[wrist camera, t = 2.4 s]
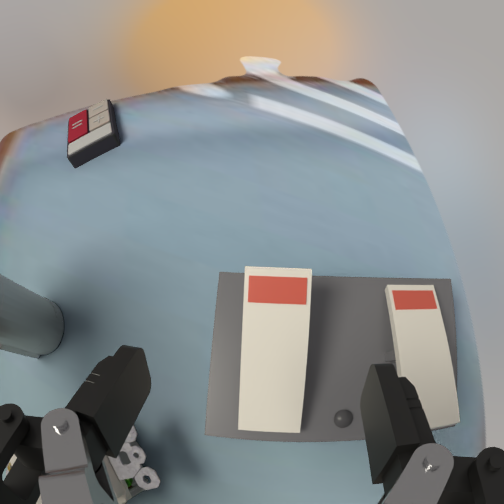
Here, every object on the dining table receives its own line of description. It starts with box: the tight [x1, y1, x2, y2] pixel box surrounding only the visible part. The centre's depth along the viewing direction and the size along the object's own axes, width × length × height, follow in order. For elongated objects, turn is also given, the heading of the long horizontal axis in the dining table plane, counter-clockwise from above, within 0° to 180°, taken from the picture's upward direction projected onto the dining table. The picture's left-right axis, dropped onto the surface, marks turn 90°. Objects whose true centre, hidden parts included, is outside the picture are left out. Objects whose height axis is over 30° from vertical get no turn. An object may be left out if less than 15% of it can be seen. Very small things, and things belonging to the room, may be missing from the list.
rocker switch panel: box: [205, 272, 457, 442], centre depth 33 cm, size 28×18×10 cm, turn 86°
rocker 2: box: [385, 285, 460, 429], centre depth 26 cm, size 6×16×1 cm, turn 176°
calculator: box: [67, 99, 121, 168], centre depth 56 cm, size 11×4×15 cm
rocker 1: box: [238, 266, 312, 433], centre depth 28 cm, size 6×16×1 cm, turn 176°
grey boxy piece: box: [6, 424, 161, 504], centre depth 29 cm, size 12×28×10 cm, turn 115°
